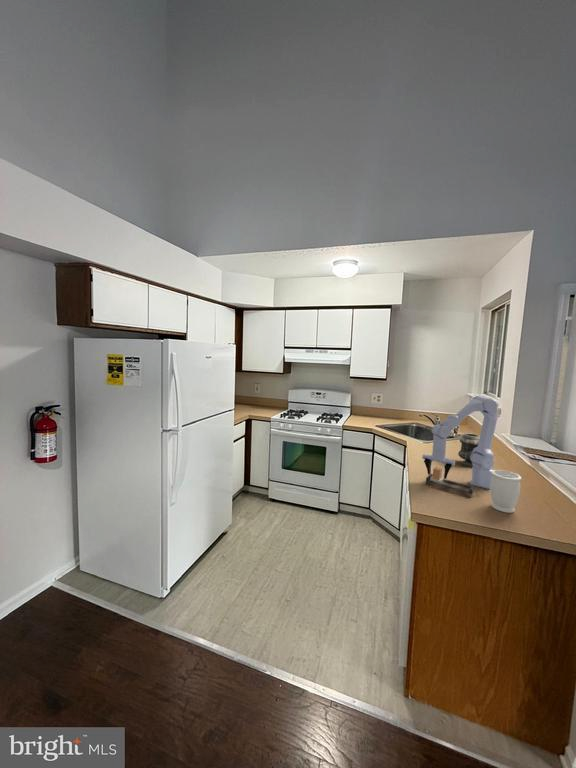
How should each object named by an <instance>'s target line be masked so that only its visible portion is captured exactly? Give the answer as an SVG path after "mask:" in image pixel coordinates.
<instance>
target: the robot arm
mask: <svg viewBox="0 0 576 768" xmlns="http://www.w3.org/2000/svg"><path fill="white" fill-rule="evenodd" d="M498 406H499V403H498V402H497V401H496V400H495V399H494V398H491V397H485V396H481V395H475V396H474V397H473V398H472V399H470V400H469V402H468V403H467V404H466V405H465V406H464V407H463V408H462V409H460V410H459V411H458V412H457V413H456V414H450V415H447V418H445V419H444V420H442V421H440V422H439V424H435V425H434V426H433V427H432V429H431V433H432V434H433V435H432V436H433V437H432V438H433V441H432V442H433V443H432V451H431V452H432V455H431V454H426V453H425V454H422V458H421V459H422V460H423V462H424V463H423V464H424V466H425V467H426V471H427V476H429V475H430V474H432V472H431V468H432V461H433V462H436V463H441V464H445V465H444V474H443V475H444V476H443V478H444V479H446V480H447V478H448V474H449V472H450V470H451V468H452V467H455V466H456V460H452V459H449V458H446V450H447V438H449V437H450V435H451V432H452V431H453V430H454V429H456V428H457V427H459V426H460V425H461V423H462V420H464V419H465V418H467V417H469V416H470V415H471V414H473V413H475V412H480V413H481V414H482V415H483V420H482V426H481V429H480V433H479V436H480V438H479V443H478V446H477V447H476V448H474V449H473V452H472V454H471V455H470V460H471V461H472V464H473V467H472V469H471V470H472V471H471V479H470V481H469V483H468V485H470V486H472V484H473V485H475V487H479V488H483V489H487V490H490V483H491V479H492V476H493V475H492V471H493V470H494V469H492V468H494V465H495V461H494V459H495V457H494V456H495V455H494V453H493V451H492V450H491V449H492V444H493V440H494V437H495V436H494V435H495V430H496V425H497V421H498V418H499V412H498V411H499V410H498Z"/></svg>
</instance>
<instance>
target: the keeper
mask: <svg viewBox="0 0 576 768" xmlns="http://www.w3.org/2000/svg"><path fill="white" fill-rule="evenodd" d="M442 472H443V467H437V466H434V467H433V469H432V474H433V476H432V477H431V478H430V480H431V481H435V482H438V483H442V482H443V481H444V477H442Z"/></svg>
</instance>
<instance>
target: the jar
mask: <svg viewBox="0 0 576 768" xmlns="http://www.w3.org/2000/svg"><path fill="white" fill-rule="evenodd" d="M492 475H493V476H492V479H491V483H490V489H489V490H490V498H491V501H492V502H491V505H490V506H491V507H492V508H493V509H495V510H496V511H499V512H502V513H507V514H508V513H509V514H511V513H515V512H516V509H515V507H516V505H517V504H518V501H519V498H520V493H521V482H520V481H522V476H521V475H520V474H518V473H516V472H512V471H510V470H503V469H493V471H492Z"/></svg>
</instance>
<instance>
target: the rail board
mask: <svg viewBox="0 0 576 768" xmlns="http://www.w3.org/2000/svg"><path fill="white" fill-rule="evenodd" d="M432 476H433V473H430V475H427V477H425V483H424V485H425V486H426V485H427V487H430V486H431V488H433V487H434V488H435V489H437V490H441V491H445V492H448V493H452V494H455V495H459V496H463V497H466V498H469V499H472V497H473V496H474V495H475V493H476V486H475V485H473V484H472V485H470V484H464V483H462V482H461V483H460V482H456V481H453V480H449V479H447V478H446V479H444V481H443V482H442V483H438V482H435V481H431V480H430V478H431V477H432ZM434 488H433V489H434Z"/></svg>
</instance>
